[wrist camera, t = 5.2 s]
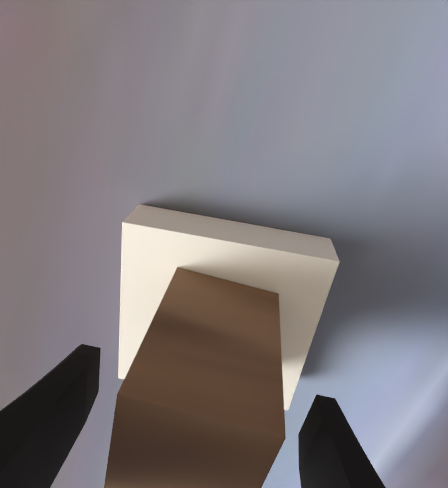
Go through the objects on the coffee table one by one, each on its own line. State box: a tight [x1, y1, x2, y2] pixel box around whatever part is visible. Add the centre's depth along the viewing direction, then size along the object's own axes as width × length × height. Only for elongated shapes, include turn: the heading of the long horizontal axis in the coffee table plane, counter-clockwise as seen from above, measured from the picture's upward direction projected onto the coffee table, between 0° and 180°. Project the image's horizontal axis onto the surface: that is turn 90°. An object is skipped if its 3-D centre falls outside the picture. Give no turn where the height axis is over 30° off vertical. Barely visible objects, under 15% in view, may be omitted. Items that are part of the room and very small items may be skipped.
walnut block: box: [104, 267, 285, 488], centre depth 12 cm, size 4×4×6 cm
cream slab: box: [118, 204, 340, 410], centre depth 16 cm, size 8×8×2 cm
